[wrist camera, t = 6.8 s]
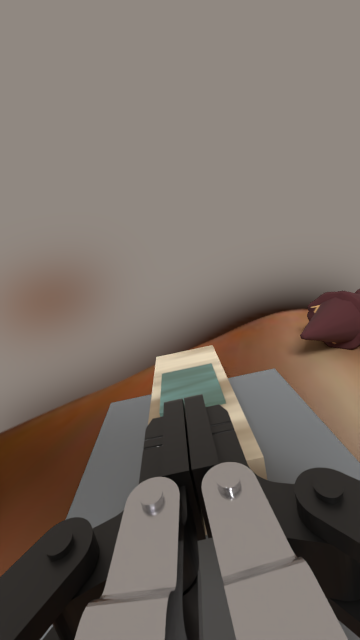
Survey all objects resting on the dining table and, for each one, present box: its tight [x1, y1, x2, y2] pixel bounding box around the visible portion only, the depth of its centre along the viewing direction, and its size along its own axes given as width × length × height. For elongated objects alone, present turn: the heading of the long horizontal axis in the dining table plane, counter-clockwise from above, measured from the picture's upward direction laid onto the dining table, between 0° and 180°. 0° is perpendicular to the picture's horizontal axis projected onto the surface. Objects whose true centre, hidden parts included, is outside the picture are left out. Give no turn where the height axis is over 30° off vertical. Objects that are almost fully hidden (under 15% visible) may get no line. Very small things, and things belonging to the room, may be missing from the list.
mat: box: [40, 369, 360, 640], centre depth 18 cm, size 24×18×1 cm
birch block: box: [148, 345, 267, 535], centre depth 21 cm, size 4×6×16 cm
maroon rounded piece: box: [300, 289, 360, 350], centre depth 32 cm, size 7×7×15 cm
